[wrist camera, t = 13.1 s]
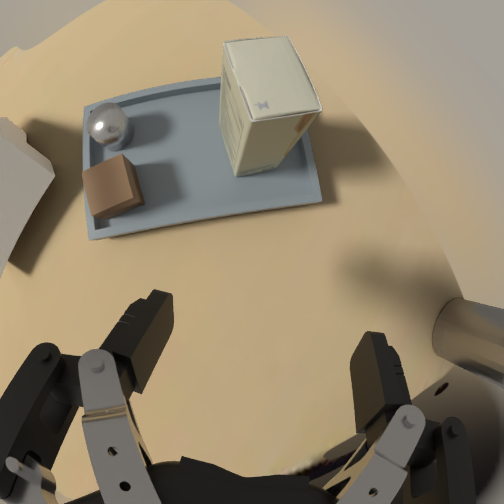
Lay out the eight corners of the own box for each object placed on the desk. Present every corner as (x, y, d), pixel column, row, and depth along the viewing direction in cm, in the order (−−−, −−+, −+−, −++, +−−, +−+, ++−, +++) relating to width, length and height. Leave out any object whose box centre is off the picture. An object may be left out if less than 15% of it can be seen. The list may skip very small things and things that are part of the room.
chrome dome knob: (133, 115, 23) (122, 97, 19) (134, 147, 23) (122, 132, 19) (101, 124, 23) (87, 108, 19) (101, 155, 23) (86, 143, 19)
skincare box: (278, 168, 25) (328, 116, 13) (234, 179, 25) (252, 127, 13) (259, 110, 25) (290, 33, 13) (216, 118, 24) (221, 39, 12)
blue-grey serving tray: (286, 87, 27) (293, 73, 24) (311, 204, 28) (322, 201, 25) (94, 117, 24) (84, 106, 21) (101, 240, 25) (88, 240, 22)
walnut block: (134, 165, 24) (121, 153, 20) (145, 203, 24) (133, 197, 20) (98, 181, 23) (81, 172, 19) (108, 219, 23) (91, 216, 19)
